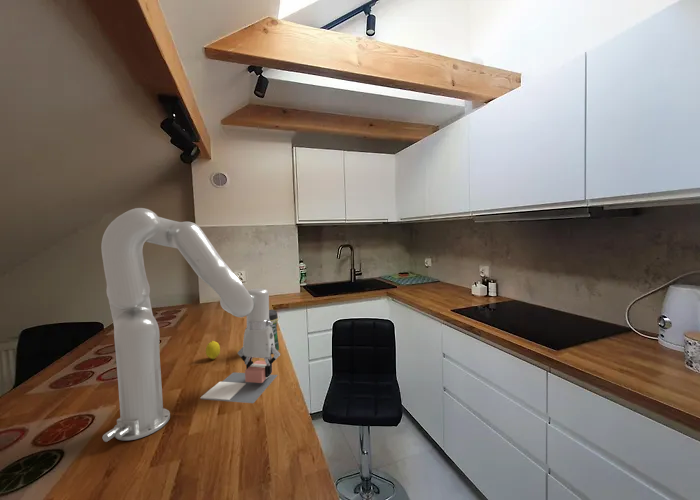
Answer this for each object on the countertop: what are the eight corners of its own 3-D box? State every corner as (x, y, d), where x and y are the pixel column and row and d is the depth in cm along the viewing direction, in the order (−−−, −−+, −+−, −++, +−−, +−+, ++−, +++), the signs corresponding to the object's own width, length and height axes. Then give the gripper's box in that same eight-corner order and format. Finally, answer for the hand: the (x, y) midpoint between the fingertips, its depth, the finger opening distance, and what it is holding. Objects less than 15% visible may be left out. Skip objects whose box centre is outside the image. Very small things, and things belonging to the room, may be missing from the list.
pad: (229, 400, 90) (229, 399, 90) (200, 398, 92) (200, 397, 92) (245, 384, 100) (245, 383, 100) (219, 382, 102) (219, 381, 102)
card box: (262, 383, 97) (261, 371, 97) (245, 381, 98) (244, 370, 98) (272, 372, 105) (272, 361, 105) (256, 371, 106) (256, 360, 106)
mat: (253, 404, 89) (253, 403, 88) (201, 400, 92) (200, 399, 92) (277, 376, 106) (277, 374, 106) (233, 373, 109) (233, 372, 109)
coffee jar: (262, 357, 123) (260, 314, 122) (253, 352, 129) (251, 311, 128) (282, 351, 130) (280, 310, 129) (273, 346, 135) (271, 307, 135)
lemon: (204, 359, 123) (203, 341, 122) (217, 355, 127) (216, 337, 126) (209, 363, 119) (208, 344, 119) (222, 358, 123) (221, 340, 123)
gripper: (285, 322, 103) (286, 371, 104) (241, 320, 106) (242, 368, 107) (276, 328, 96) (277, 381, 96) (229, 326, 99) (230, 378, 99)
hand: (259, 374), depth 101 cm, fingers closed on card box, 6 cm apart
